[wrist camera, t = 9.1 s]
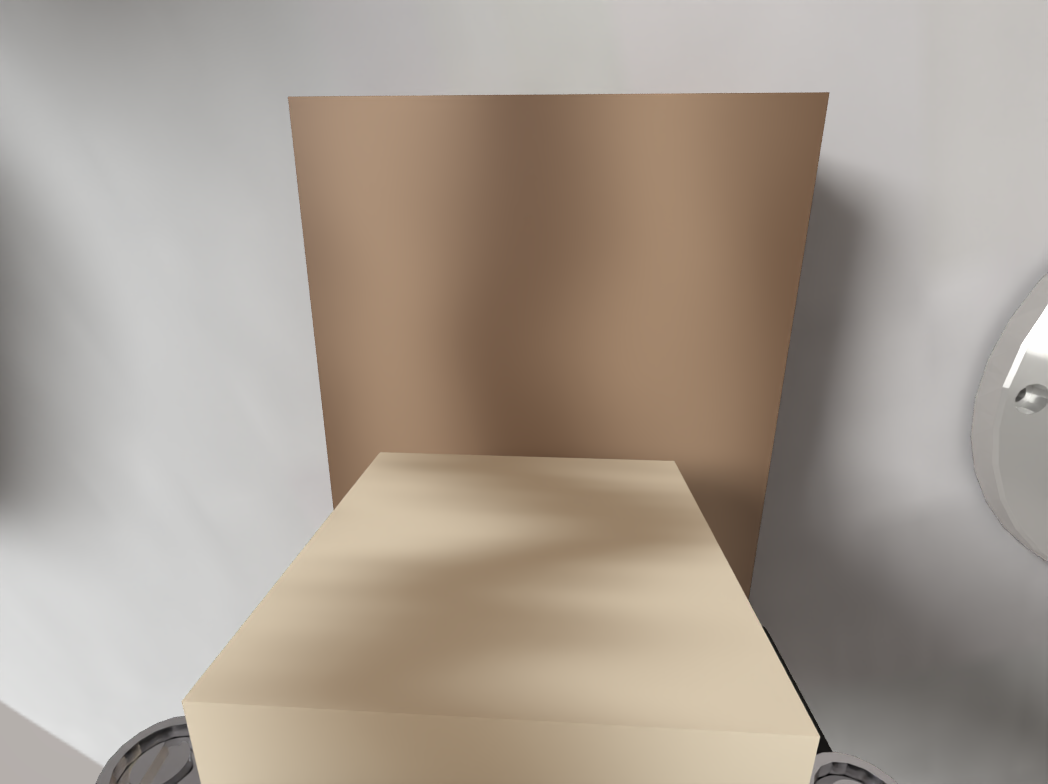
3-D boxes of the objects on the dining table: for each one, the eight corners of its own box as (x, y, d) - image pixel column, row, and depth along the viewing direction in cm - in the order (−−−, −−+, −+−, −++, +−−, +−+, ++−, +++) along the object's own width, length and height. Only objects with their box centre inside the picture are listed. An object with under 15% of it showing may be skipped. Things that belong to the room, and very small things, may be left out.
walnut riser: (756, 130, 14) (829, 92, 10) (684, 707, 20) (713, 820, 16) (358, 131, 15) (287, 96, 11) (401, 689, 21) (365, 793, 17)
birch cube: (674, 460, 10) (820, 736, 5) (650, 696, 12) (736, 1105, 6) (380, 452, 11) (181, 701, 5) (398, 682, 13) (266, 1063, 7)
